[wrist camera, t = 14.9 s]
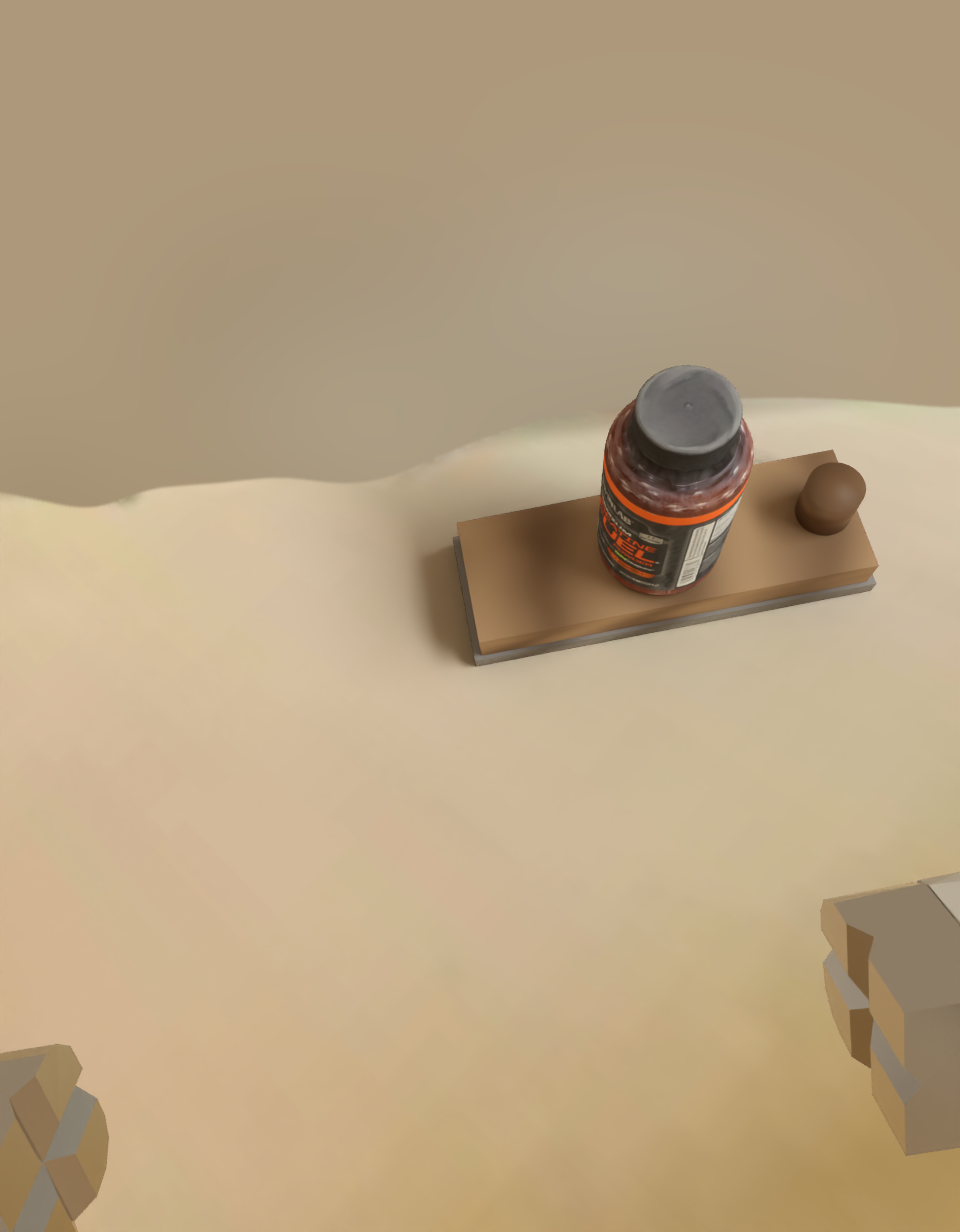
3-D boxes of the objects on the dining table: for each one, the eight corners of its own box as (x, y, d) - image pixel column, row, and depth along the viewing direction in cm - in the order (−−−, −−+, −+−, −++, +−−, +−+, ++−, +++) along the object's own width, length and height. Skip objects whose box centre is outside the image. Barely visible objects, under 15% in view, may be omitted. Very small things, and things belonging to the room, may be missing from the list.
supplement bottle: (570, 549, 44) (572, 411, 33) (650, 471, 45) (676, 314, 35) (665, 625, 42) (699, 504, 31) (745, 540, 43) (804, 397, 33)
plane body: (476, 666, 44) (466, 629, 40) (454, 544, 47) (442, 496, 43) (870, 590, 44) (906, 544, 40) (825, 472, 47) (853, 416, 42)
